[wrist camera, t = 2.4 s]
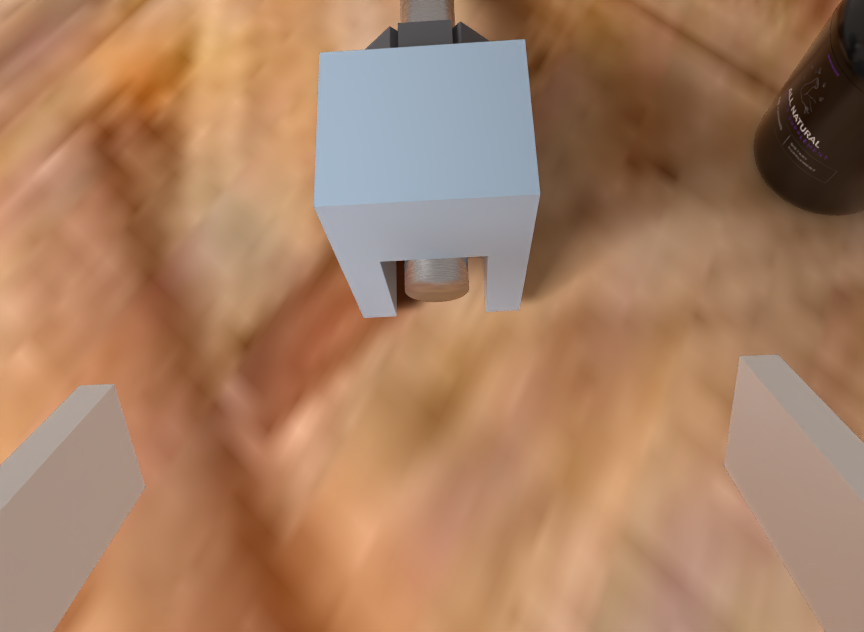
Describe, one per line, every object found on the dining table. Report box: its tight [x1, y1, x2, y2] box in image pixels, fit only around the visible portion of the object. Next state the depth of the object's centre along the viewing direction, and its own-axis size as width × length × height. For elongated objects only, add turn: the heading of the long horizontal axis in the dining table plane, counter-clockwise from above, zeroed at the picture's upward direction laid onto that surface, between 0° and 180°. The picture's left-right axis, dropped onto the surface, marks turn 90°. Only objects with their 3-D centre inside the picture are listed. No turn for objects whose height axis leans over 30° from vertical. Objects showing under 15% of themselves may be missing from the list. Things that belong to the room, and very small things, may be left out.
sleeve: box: [314, 39, 540, 318], centre depth 26 cm, size 6×7×10 cm
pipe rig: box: [400, 0, 469, 302], centre depth 32 cm, size 25×7×7 cm, turn 2°
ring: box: [365, 19, 489, 50], centre depth 29 cm, size 2×6×6 cm, turn 92°
